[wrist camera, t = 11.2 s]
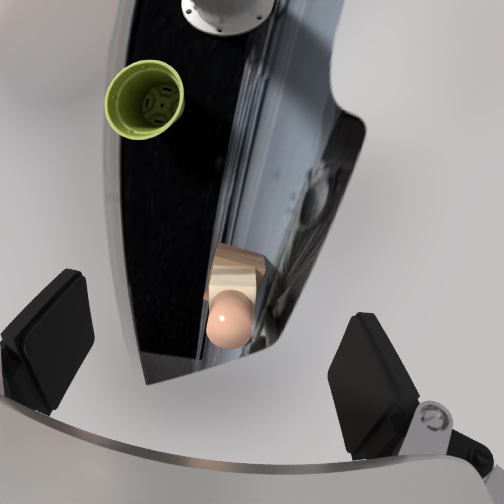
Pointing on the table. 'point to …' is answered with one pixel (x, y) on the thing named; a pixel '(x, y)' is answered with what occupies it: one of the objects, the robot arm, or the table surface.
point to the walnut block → (237, 262)
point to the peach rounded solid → (229, 319)
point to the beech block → (234, 283)
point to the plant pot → (144, 99)
